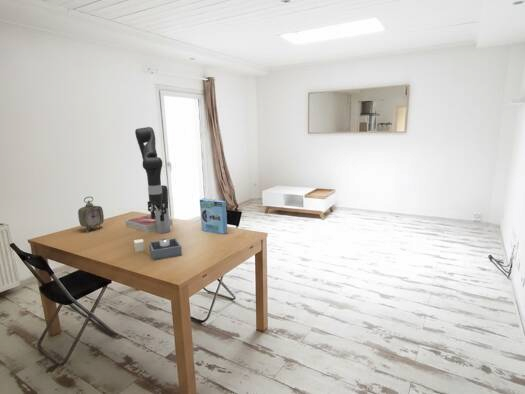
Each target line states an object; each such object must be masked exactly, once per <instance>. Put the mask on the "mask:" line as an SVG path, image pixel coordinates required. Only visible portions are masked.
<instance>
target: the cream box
mask: <svg viewBox="0 0 525 394" xmlns="http://www.w3.org/2000/svg"><path fill="white" fill-rule="evenodd" d="M133 245H134V246H133V247H134V251H135V252H136V253H137V252H142V251H145V242H144V239H143V238H141V239H134V240H133Z"/></svg>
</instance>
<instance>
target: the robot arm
mask: <svg viewBox="0 0 525 394" xmlns="http://www.w3.org/2000/svg"><path fill="white" fill-rule="evenodd" d="M135 137H136V141H137V144H138V148H139V150H140V152H141V158H142V168H143V169H144V170H145V173H146V176H147V177H146V179H147V192H148V201H147V211H148V212H149V214H151V218H152V219H155V218H156V229H157V230H156V233H157V234H166V233H169V232H170V231H171V226H170V222H169V219H170V211H169V190H168V187H167V185H163V184H162V180H161V177H162V176H161V175H162V174H161V173H162V168H163V160H162V158H161V157H159V156H158V153H157V149H156V135H155V131H154V129H153V127H151V126H147V127H139V128H136V129H135Z"/></svg>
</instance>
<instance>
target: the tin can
mask: <svg viewBox="0 0 525 394" xmlns="http://www.w3.org/2000/svg"><path fill="white" fill-rule="evenodd" d="M170 239H171V238H160V239H159V241H160V249H164V248H170Z"/></svg>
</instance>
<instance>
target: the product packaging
mask: <svg viewBox="0 0 525 394" xmlns="http://www.w3.org/2000/svg"><path fill="white" fill-rule="evenodd" d="M169 222H170V227H171V226H173V225H174V224H173V219H172V218H169ZM125 226H126V227H127V228H131V227H132V228H131V229H136V230H138V231H142V232H146V233H151V232H153V231H157V229H156V218H155V219H152V218H151V213H149V214H146V215H142V216H138V217H134V218H130V219H127V220H125Z"/></svg>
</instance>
